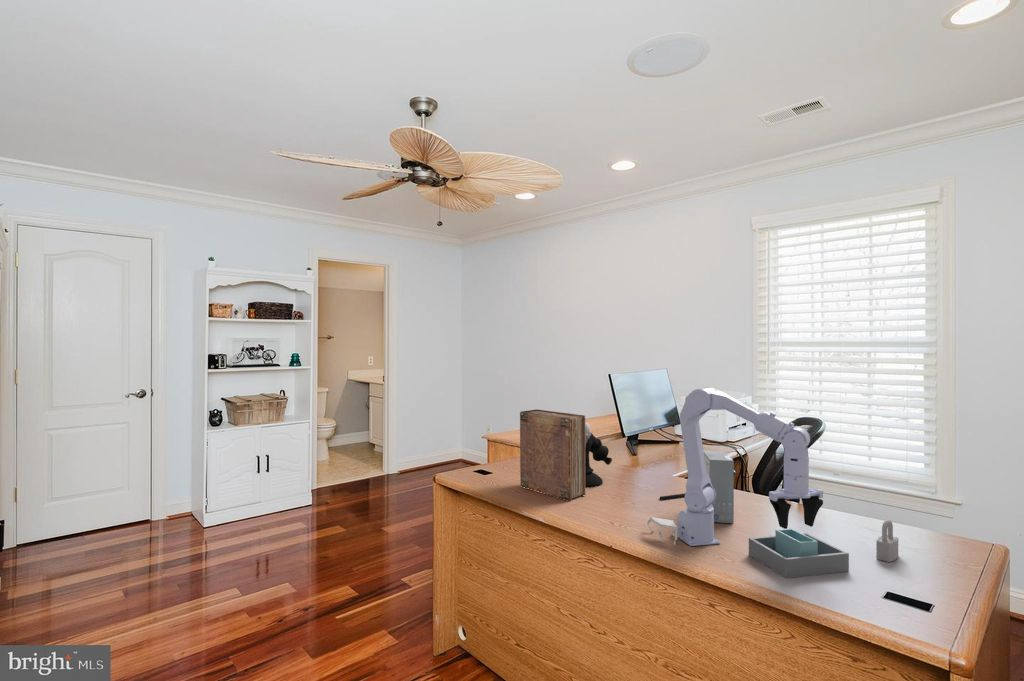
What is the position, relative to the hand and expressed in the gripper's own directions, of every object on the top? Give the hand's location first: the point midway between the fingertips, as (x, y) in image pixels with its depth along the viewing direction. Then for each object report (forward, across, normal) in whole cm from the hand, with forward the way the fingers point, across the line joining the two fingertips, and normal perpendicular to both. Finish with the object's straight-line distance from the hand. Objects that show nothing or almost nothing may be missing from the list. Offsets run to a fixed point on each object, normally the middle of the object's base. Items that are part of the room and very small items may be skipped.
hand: (796, 526), depth 135 cm
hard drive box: (+10, +1, +37) cm, 38 cm away
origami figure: (+10, -26, +23) cm, 36 cm away
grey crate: (+9, 0, 0) cm, 9 cm away
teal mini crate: (+8, 0, 0) cm, 8 cm away
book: (+10, -45, +74) cm, 87 cm away
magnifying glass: (+10, +6, +58) cm, 60 cm away
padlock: (+10, +26, -2) cm, 28 cm away
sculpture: (+10, -25, +86) cm, 90 cm away
